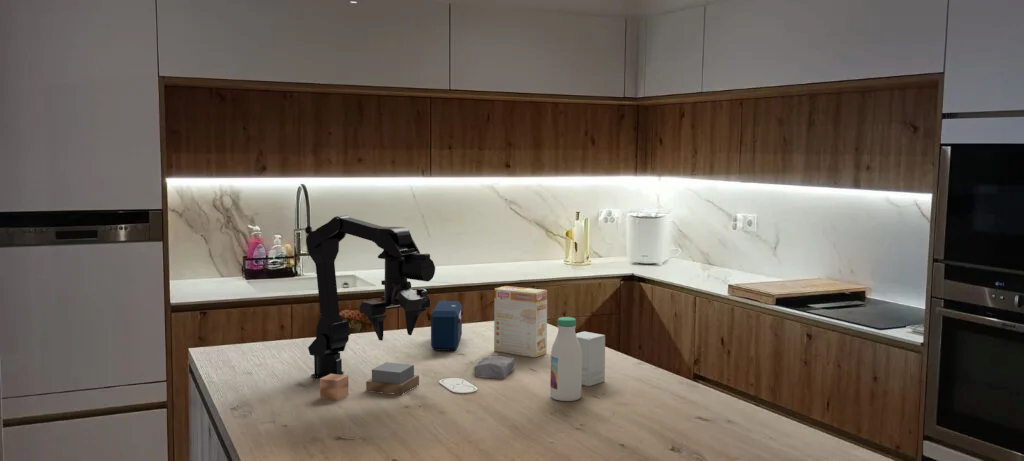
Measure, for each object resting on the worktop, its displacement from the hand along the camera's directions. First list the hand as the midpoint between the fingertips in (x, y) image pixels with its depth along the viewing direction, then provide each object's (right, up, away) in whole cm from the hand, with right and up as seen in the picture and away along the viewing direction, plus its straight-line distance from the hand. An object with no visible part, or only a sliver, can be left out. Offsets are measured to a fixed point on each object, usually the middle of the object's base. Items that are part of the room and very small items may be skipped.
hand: (395, 337), depth 217 cm
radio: (+9, -9, +52) cm, 53 cm away
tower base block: (-1, -14, +2) cm, 14 cm away
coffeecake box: (+32, -10, +41) cm, 53 cm away
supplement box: (+50, -13, +10) cm, 52 cm away
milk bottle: (+43, -15, -5) cm, 46 cm away
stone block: (+24, -12, +19) cm, 33 cm away
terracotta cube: (-14, -14, -6) cm, 21 cm away
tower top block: (-1, -11, +2) cm, 11 cm away
